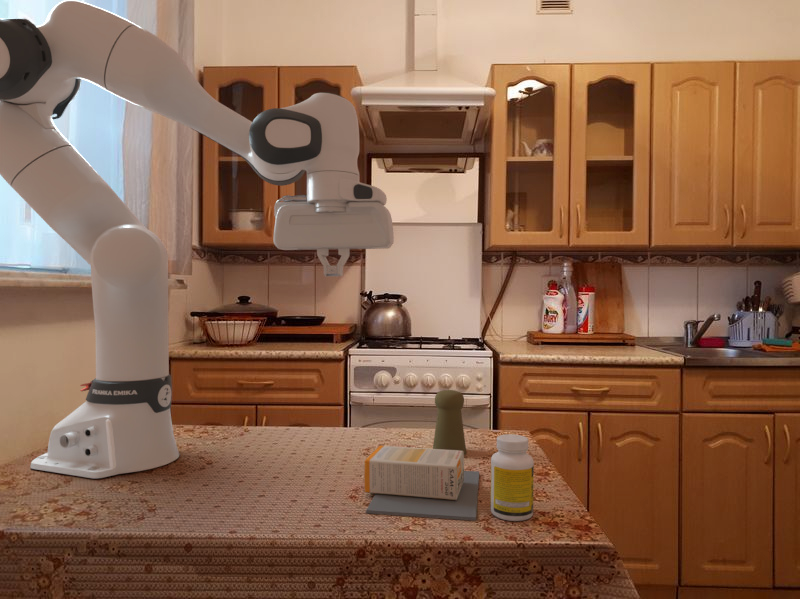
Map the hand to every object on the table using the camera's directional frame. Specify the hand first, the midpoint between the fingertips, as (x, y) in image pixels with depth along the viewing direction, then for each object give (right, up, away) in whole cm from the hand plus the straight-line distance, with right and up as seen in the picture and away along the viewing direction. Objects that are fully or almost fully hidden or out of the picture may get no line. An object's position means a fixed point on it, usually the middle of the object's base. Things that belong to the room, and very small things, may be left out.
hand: (333, 276), depth 93 cm
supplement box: (+7, -29, -12) cm, 32 cm away
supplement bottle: (+26, -32, -22) cm, 46 cm away
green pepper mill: (+20, -31, +5) cm, 38 cm away
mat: (+15, -31, -14) cm, 38 cm away
